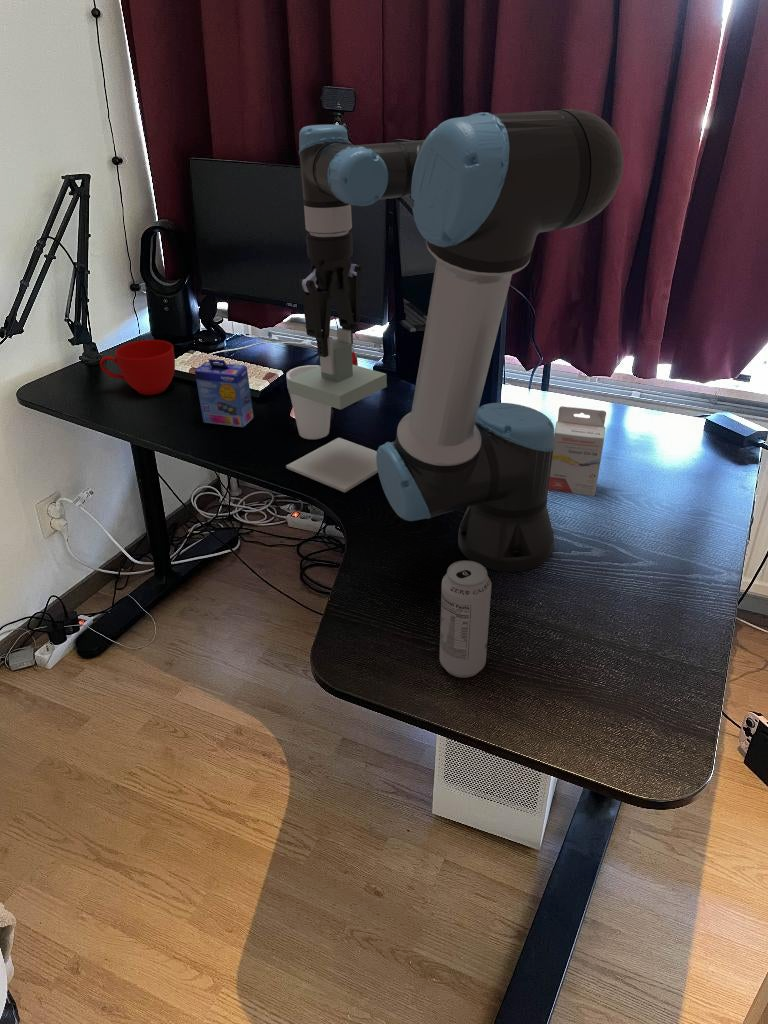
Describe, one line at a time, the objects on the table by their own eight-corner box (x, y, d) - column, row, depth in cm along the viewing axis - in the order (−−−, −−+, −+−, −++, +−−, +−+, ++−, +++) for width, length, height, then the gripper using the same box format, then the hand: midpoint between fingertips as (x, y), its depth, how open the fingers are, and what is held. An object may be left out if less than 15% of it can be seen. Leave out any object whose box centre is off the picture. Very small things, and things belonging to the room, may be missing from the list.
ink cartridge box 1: (201, 423, 162) (191, 359, 154) (213, 413, 166) (203, 350, 159) (243, 428, 160) (235, 363, 152) (254, 417, 164) (246, 354, 156)
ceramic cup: (110, 383, 182) (101, 343, 177) (181, 377, 185) (174, 337, 179) (103, 404, 171) (93, 362, 166) (179, 397, 174) (171, 356, 168)
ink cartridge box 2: (546, 491, 135) (554, 416, 127) (549, 478, 139) (557, 404, 132) (595, 497, 133) (607, 421, 125) (596, 483, 137) (608, 409, 129)
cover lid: (386, 386, 137) (385, 341, 133) (340, 409, 129) (337, 362, 125) (335, 371, 144) (333, 328, 140) (288, 392, 136) (284, 347, 131)
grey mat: (396, 461, 146) (396, 458, 146) (344, 492, 136) (344, 489, 136) (338, 440, 154) (338, 437, 154) (286, 468, 144) (286, 465, 144)
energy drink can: (494, 669, 97) (502, 577, 89) (456, 687, 95) (460, 593, 87) (467, 642, 102) (472, 552, 94) (430, 658, 99) (432, 567, 91)
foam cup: (339, 423, 161) (336, 365, 154) (333, 443, 153) (329, 383, 146) (296, 422, 162) (291, 364, 155) (287, 441, 154) (281, 382, 147)
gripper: (346, 220, 130) (352, 351, 142) (274, 238, 119) (287, 378, 131) (380, 225, 126) (383, 359, 138) (308, 244, 114) (319, 388, 127)
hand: (336, 368), depth 134 cm, fingers closed on cover lid, 4 cm apart
